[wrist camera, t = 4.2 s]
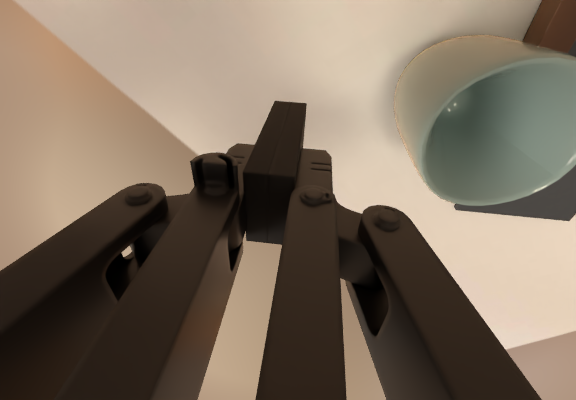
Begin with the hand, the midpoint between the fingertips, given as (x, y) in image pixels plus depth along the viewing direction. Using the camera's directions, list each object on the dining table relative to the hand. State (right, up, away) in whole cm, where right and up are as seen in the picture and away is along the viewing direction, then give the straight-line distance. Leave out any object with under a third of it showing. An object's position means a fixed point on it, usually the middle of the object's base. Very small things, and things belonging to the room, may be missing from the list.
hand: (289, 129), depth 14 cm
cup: (+11, +5, +8) cm, 15 cm away
